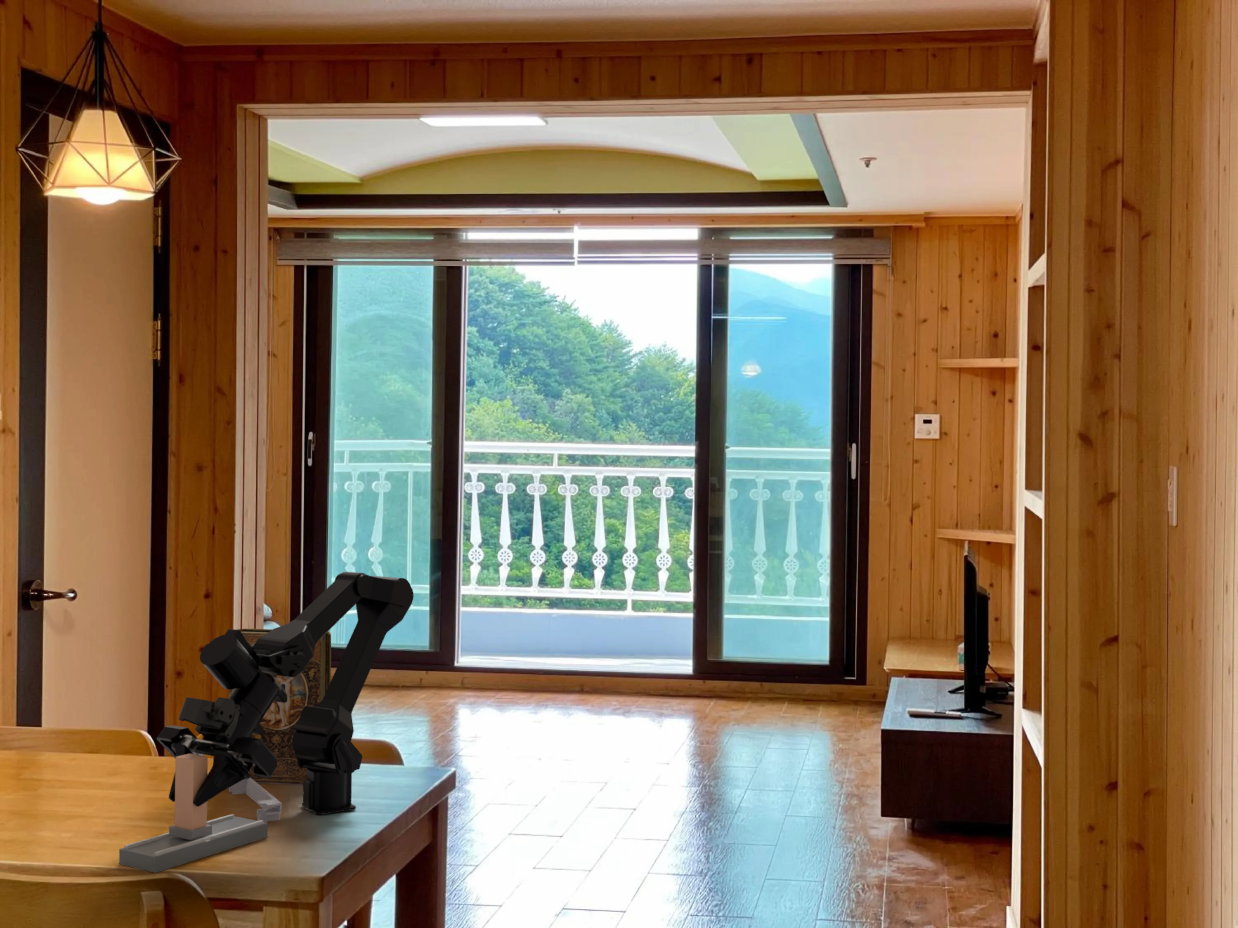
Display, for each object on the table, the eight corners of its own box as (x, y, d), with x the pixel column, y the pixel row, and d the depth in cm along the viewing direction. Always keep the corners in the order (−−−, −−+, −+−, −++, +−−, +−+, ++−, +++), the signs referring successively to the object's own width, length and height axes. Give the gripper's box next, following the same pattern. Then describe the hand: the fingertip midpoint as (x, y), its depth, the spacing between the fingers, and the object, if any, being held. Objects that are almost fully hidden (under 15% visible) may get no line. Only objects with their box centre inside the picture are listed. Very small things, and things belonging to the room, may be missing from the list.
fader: (189, 829, 187) (190, 752, 187) (211, 833, 185) (213, 756, 185) (169, 834, 184) (170, 756, 184) (191, 839, 182) (192, 760, 182)
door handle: (227, 793, 218) (227, 775, 218) (245, 791, 219) (245, 773, 219) (262, 825, 199) (262, 805, 199) (281, 823, 201) (281, 803, 201)
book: (223, 781, 225) (226, 632, 225) (236, 774, 230) (238, 628, 230) (319, 785, 223) (321, 634, 223) (329, 777, 229) (332, 630, 229)
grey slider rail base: (232, 829, 196) (232, 812, 196) (267, 836, 193) (267, 819, 193) (119, 863, 179) (119, 845, 179) (155, 872, 175) (155, 854, 175)
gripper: (168, 668, 193) (102, 759, 183) (263, 680, 183) (199, 777, 174) (209, 715, 200) (148, 805, 190) (303, 729, 190) (244, 824, 181)
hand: (183, 802), depth 184 cm, fingers open, 4 cm apart
